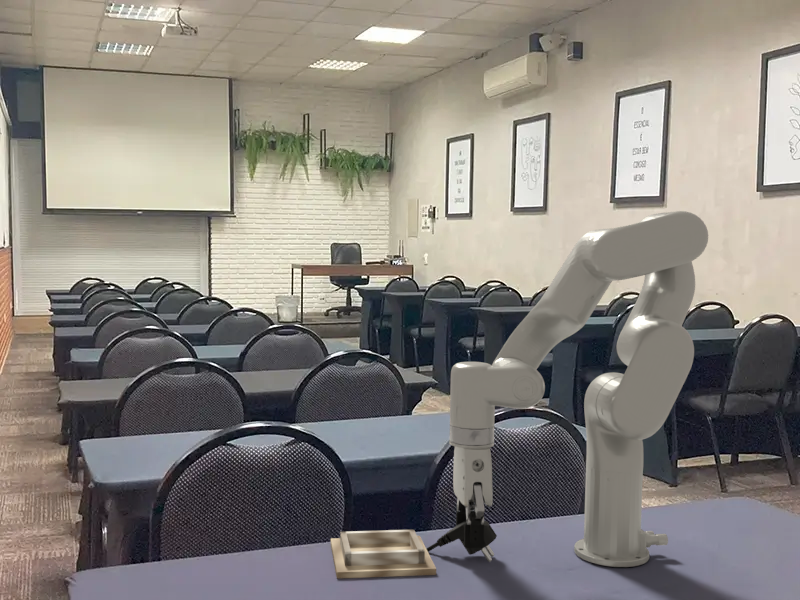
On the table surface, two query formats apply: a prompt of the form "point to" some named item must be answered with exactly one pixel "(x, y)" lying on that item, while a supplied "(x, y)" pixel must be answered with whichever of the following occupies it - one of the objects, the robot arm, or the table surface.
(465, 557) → the table surface
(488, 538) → the power plug
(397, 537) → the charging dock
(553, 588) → the table surface
